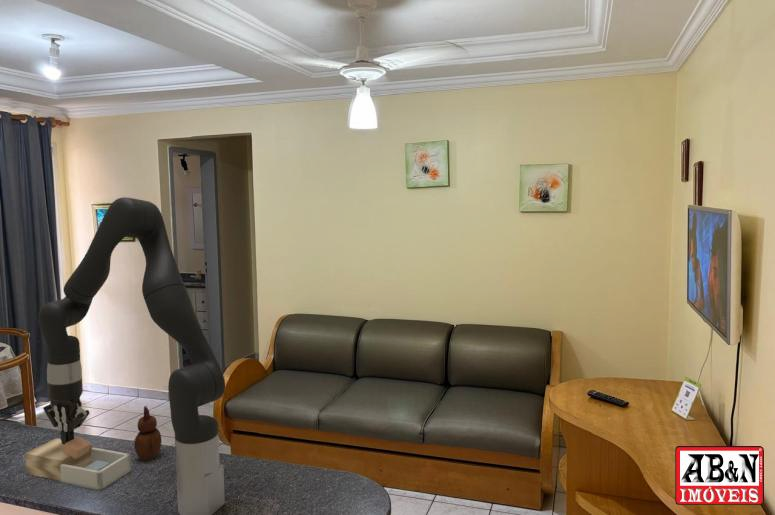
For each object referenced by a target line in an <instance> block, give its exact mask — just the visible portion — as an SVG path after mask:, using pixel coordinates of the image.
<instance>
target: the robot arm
mask: <svg viewBox="0 0 775 515" xmlns="http://www.w3.org/2000/svg"><path fill="white" fill-rule="evenodd" d="M124 238H129V239H130V238H132V239H137V240H138V242H139V244H140V246H141V248H142V251H143V254H144V259H145V270H144V274H143V278H142V286H141V287H142V288H141V292H142V297H143V299H144V301H145V305H146V308H147V310H148V313H149V316H150V318H151V319H152V321H153V322H154V324H156V325H157V326H158V327H159V329H161V330H162V331H164V333H166V334H167V335H168V336H169V337H171V338H172V339H173V340H175V342H176V343H178V345H180V346H181V348H182V349H183V350H184V351H185V354H186V355H187V357H188V359H189V361H190V363H191V365H187V366H183V367H180V368H177V369H174V371H172V372H171V374H170V376H169V379H168V389H167V390H168V399H169V400H168V401H169V407H170V419H171V425H172V428H173V432H174V445H175V446H174V447H175V448H174V449H175V451H174V452H175V469H176V470H175V475H176V489H177V490H176V491H177V492H176V494H177V510H178V514H179V515H213V514H215V513H216V512H217V511H218V510H219V509H220V508H221V507H222V506H224V504H225V477H224V476H225V475H224V464H222V463H220V441H219V439H220V438H219V423H218V420H217V419H216V418H215V417H213V416H210V415H206V414H205V415H204V414H200V413H199V407H201V406H204V405H207V404H210V403H212V402H215V401H217V400H219V399H221V398H222V397H223V396H224V394H225V391H226V381H225V380H226V379H225V376H224V373H223V370H222V368H221V366H220V364H219V362H218V360H217V358H216V355H215V354H214V351H213V350H212V347H211V345H210V344H209V342H208V340H207V338H206V336H205V334H204V332H203V328H202V326H201V324H200V321H199V319H198V317H197V315H196V312H195V309H194V306H193V303H192V300H191V297H190V295H189V293H188V289H187V287H186V284H185V283H184V281H183V277H182V276H181V273H180V270H179V268H178V267H179V266H178V265H177V261H176V259H175V256H174V254H173V251H172V250H173V249H172V248H171V247H172V246H171V244H170V240H169V237H168V231H167V228H166V224H165V222H164V218H163V215H162V212H161V210H160V209H159V207H158V206H157V205H156V204H154V203H153V202H151V201H148V200H144V199H138V198H132V197H124V196H123V197H119V198H117V199H115V200H114V201H112V203H111V204H110V205H109V207H108V208H107V209H106V212H105V213H104V216H103V217H102V219H101V222H100V224H99V226H98V228H97V229H96V232H95V233H94V236H93V239H92V241H91V242H90V245H89V247H88V249H87V251H86V253H85V255H84V256H83V259H81V261H80V263H79V264H78V266H77V267H76V268H75V269H74V270H73V273H71V275H70V276H69V278H68V279H67V281H66V282H65V284H64V285H63V294H64V295H65V296H64V297H63V298H62V299H58V300H54V301H49V302H47V303H45V304H44V305H43V306H41V308H40V310H39V311H38V315H37V316H38V317H37V322H38V326H39V330H40V332H41V334H42V337H43V341H44V342H45V344H46V349H47V351H46V355H47V357H46V358H47V368H46V379H47V380H46V382H47V397H48V399H49V400H50V401H49V404H47V405H45V406H43V411H44V413H45V414H46V417H47V418H48V419H49V421H50V423H51V425H52V426H53V427H54V428H58V430H59V432H60V439H61V442H62V444H64V445H65V443H67V442H69V441H71V440H73V439H75V430H76V429H78V428H80V427H81V426H82V424H84V422H85V421H86V419H87V418H88V416H89V415H90V411H89V410H88V409H86V410H85V409H84V408H83V407H82V406H83V405H82V401H81V396H82V394H83V391H84V390H83V367H82V362H81V346H80V345H81V343H80V339H79V338H78V337H77V336H74V335H69V334H68V331H67V328H69V327H72V326H75V325H77V324H79V323H80V322H81V321H82V320H83V319H84V318H85V317H86V316H87V314H88V312H89V310H90V307H91V305H92V302H93V298H94V297H95V296H96V295H97V294H98V292H99V291H100V290H101V289H102V287H103V286H104V284H105V283H106V281H107V280H108V278H109V276H110V271H111V261H112V260H111V258H112V254H113V252H114V250H115V248H116V247H117V245H118V244H119V243H121V241H122V240H123V239H124Z"/></svg>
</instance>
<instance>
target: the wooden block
mask: <svg viewBox="0 0 775 515" xmlns="http://www.w3.org/2000/svg"><path fill="white" fill-rule="evenodd" d="M64 447H65V445H64V444H62V442H61V438H54V439H52V440H50V441H47V442H45V443H43V444H42V445H39V446H37V447H35V448H34V449H31V450H28V451H27V452H25V453H24V454H25V455H24V456H25V459H24V461H25V471H26V475H31V476H35V477H40V478H43V477H44V479H49V480H54V481H57V482H58V481H59V482H61V469H60V465H62V464H66V465H72V466H77V467H82V468H84V467H86V466H88V465H90V464H91V463H92V459H91V448H93V447H92V444H91V443H90V448H89V452H87V453H85V454H84V455H82V456H80V457H78V458H76V459H75V458H73V457H71V456H70V455H68V454H67V453H65V452H63V451H64Z"/></svg>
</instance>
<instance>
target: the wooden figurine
mask: <svg viewBox="0 0 775 515" xmlns="http://www.w3.org/2000/svg"><path fill="white" fill-rule="evenodd" d="M157 422H158V421H157V418H156V416H154V415H151V414H150V409H149V408H148V407H147V405H145V406H143V416H142V417H140V418H139V419H138V421H137V430H138V433H137V434H136V436H135V438H134V450H135V453H136V455H137V456H138V458H139V459H140V460H142V461H149V460H150V461H151V460H152V459H155V458H156V457H157V456H158V455H159V453H160V450H161V448H162V434H161V432H160V430H159V429H158V428H157V425H158V423H157Z"/></svg>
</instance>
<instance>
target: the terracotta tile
mask: <svg viewBox="0 0 775 515" xmlns="http://www.w3.org/2000/svg"><path fill="white" fill-rule="evenodd" d="M90 444H91V443H90V442H89V441H87V440H85V439H84V438H82V437H81V436H80V435H79V436H77V437H74V439H73V440H71V441H69V442H67V443H65V447H64V451H63V452H65V453H67V454H68V455H70V456H71V457H73V458H75V459H76V458H78V457H80V456H82V455H84V454H85V453H87V452H89V448H90Z"/></svg>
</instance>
